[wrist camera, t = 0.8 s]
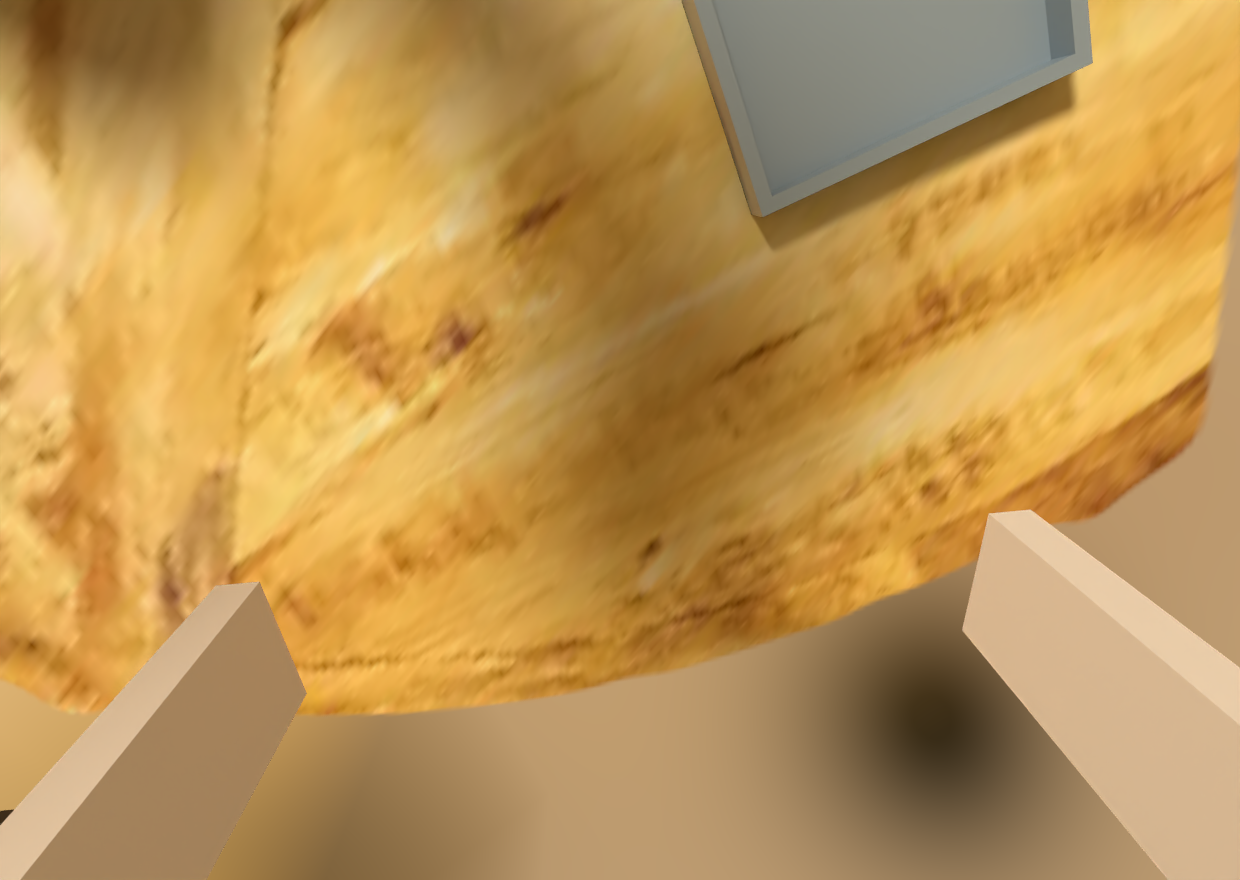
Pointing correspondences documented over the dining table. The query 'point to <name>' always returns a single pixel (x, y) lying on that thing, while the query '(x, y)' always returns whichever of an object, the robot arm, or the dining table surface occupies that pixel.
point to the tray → (868, 77)
